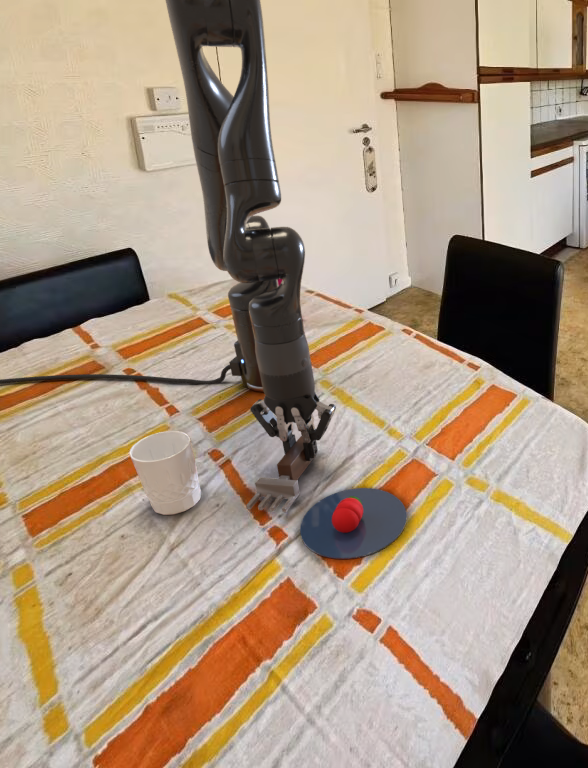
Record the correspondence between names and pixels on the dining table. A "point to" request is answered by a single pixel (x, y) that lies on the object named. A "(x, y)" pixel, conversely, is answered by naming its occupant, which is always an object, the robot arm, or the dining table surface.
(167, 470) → the white cup
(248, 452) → the dining table surface
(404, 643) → the dining table surface
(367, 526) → the plate
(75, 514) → the dining table surface
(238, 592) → the dining table surface
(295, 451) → the fork
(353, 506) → the strawberry
